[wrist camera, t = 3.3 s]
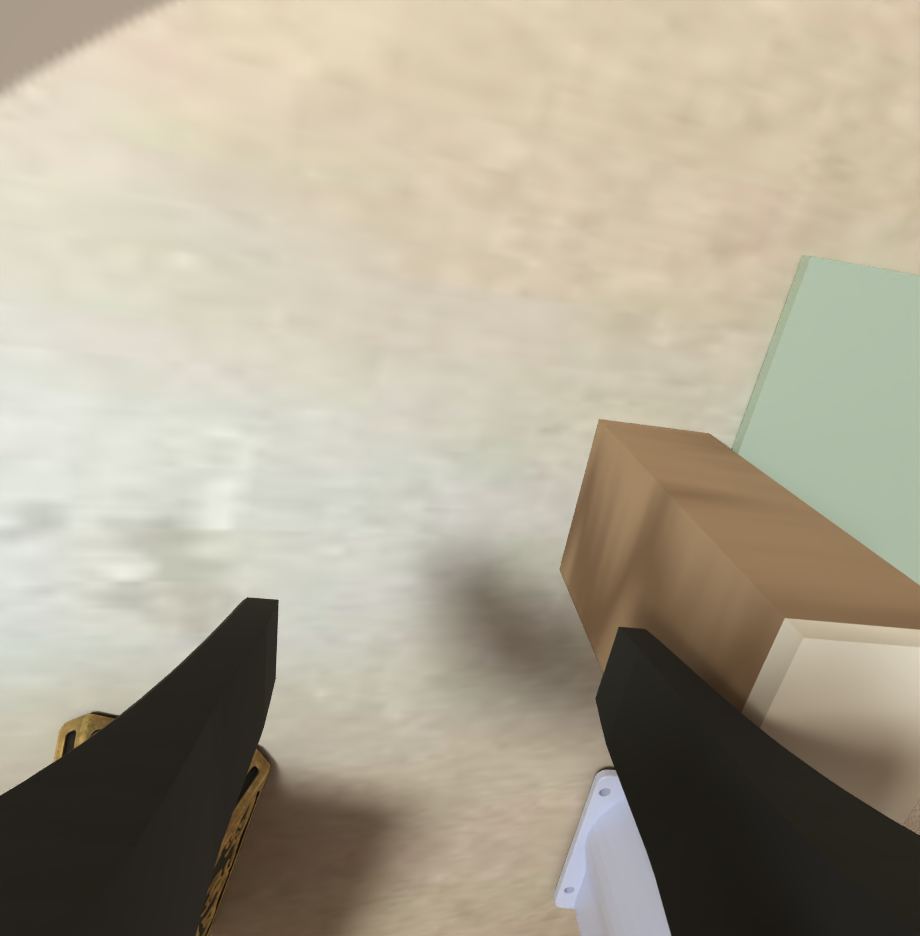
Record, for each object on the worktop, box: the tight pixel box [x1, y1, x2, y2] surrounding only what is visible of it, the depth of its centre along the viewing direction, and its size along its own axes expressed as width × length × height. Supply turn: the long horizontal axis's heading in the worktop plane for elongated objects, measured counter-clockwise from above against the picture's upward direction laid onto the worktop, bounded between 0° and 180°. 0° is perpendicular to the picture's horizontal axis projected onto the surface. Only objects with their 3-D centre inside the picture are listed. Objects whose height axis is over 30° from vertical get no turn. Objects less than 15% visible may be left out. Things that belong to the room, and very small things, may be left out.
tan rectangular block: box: [560, 419, 920, 825], centre depth 16 cm, size 6×4×11 cm, turn 171°
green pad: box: [732, 256, 920, 585], centre depth 22 cm, size 18×16×1 cm
